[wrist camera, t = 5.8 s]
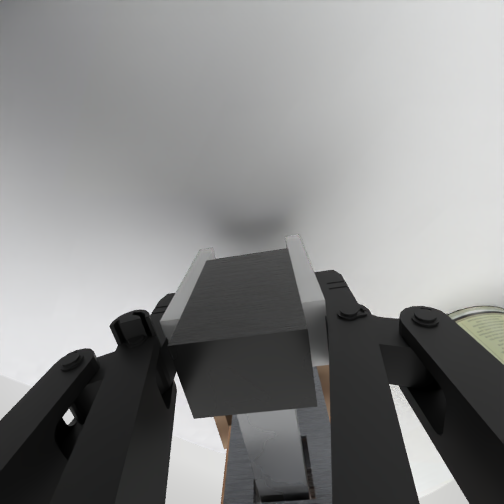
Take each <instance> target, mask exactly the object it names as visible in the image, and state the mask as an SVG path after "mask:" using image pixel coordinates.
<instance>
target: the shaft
mask: <svg viewBox="0 0 504 504" xmlns="http://www.w3.org/2000/svg"><path fill="white" fill-rule="evenodd" d="M167 347H168V349H169V352H170V355H171V357H172V360H173V363H174V366H175V368H176V371H177V374H178V377H179V379H180V382H181V385H182V387H183V390H184V393H185V396H186V398H187V401H188V404H189V407H190V409H191V412H192V415H193V417H194V419H195V418H205V417H216V416H226V415H237V418H238V421H239V425H240V429H241V432H242V436H243V439H244V443H245V446H246V450H247V453H248V457H249V460H250V464H251V467H252V471H253V475H254V478H255V482H256V485H257V489H258V492H259V496H260V499H261V503H266V502H281V501H297V500H311V494H310V488H309V482H308V476H307V470H306V464H305V458H304V452H303V446H302V440H301V434H300V428H299V422H298V416H297V410H296V409H299V408H309V407H317V399H316V391H315V383H314V375H313V367H312V359H311V351H310V343H309V335H308V328H307V324H306V320H305V315H304V311H303V307H302V303H301V299H300V295H299V291H298V287H297V283H296V279H295V275H294V270H293V266H292V262H291V258H290V254H289V250H288V248H286V249H279V250H273V251H266V252H260V253H253V254H247V255H240V256H233V257H227V258H220V259H214V260H207V261H206V263H205V265H204V267H203V269H202V271H201V273H200V276H199V278H198V280H197V282H196V284H195V287H194V289H193V291H192V293H191V295H190V298H189V300H188V302H187V304H186V306H185V308H184V311H183V313H182V315H181V317H180V319H179V322H178V324H177V326H176V328H175V330H174V333H173V335H172V337H171V339H170V341H169V343H168V346H167Z"/></svg>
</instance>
